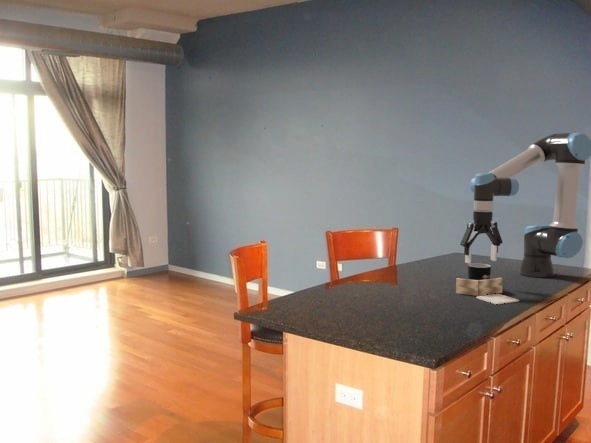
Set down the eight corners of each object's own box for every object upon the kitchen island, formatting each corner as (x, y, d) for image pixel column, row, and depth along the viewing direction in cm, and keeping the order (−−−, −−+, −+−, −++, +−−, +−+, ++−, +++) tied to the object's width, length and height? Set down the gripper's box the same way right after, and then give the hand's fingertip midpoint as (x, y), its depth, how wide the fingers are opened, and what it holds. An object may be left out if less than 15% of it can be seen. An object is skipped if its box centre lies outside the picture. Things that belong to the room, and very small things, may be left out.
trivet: (497, 295, 229) (498, 293, 229) (518, 301, 219) (519, 299, 219) (476, 298, 224) (476, 296, 224) (496, 304, 214) (496, 303, 214)
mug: (482, 292, 232) (483, 268, 231) (463, 289, 239) (463, 265, 238) (498, 288, 240) (498, 264, 239) (478, 284, 247) (479, 261, 246)
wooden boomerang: (488, 288, 240) (488, 274, 239) (502, 292, 233) (502, 278, 232) (454, 292, 233) (455, 278, 232) (468, 297, 226) (468, 282, 225)
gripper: (499, 209, 244) (497, 258, 247) (452, 211, 234) (450, 262, 237) (512, 210, 238) (510, 261, 240) (465, 212, 227) (463, 265, 230)
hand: (480, 261), depth 238 cm, fingers open, 13 cm apart
